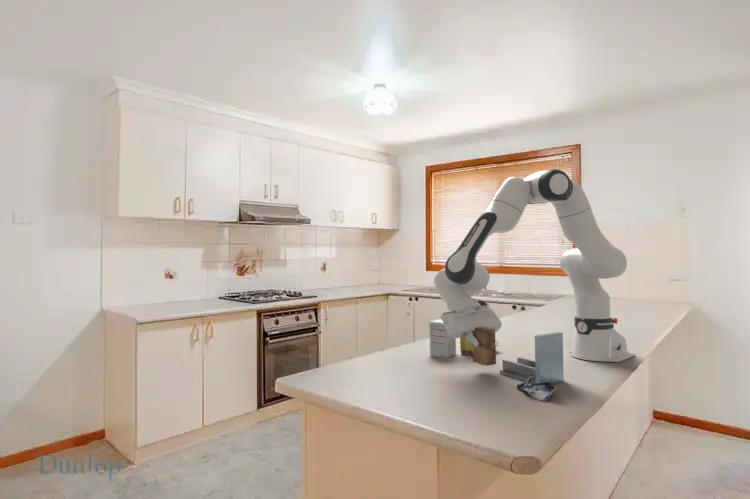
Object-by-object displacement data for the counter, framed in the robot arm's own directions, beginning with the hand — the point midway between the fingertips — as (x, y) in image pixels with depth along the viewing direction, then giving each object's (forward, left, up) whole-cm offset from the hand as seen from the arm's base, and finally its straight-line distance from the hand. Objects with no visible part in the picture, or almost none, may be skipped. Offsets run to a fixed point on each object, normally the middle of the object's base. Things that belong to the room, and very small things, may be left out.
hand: (485, 344), depth 142 cm
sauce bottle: (-14, -24, -9) cm, 29 cm away
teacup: (-24, -25, -9) cm, 35 cm away
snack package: (+2, +22, -10) cm, 24 cm away
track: (-9, +9, -9) cm, 16 cm away
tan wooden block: (0, -1, -6) cm, 6 cm away
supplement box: (-5, -28, -9) cm, 30 cm away
